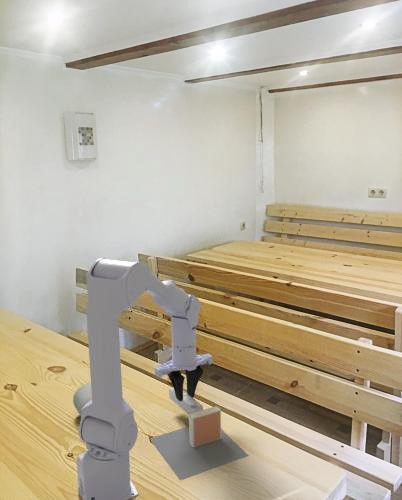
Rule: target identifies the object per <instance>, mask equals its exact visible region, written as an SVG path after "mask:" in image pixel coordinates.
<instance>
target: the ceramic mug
mask: <svg viewBox="0 0 402 500" xmlns="http://www.w3.org/2000/svg"><path fill="white" fill-rule="evenodd" d="M72 399H73V401H72V403H73V406H74V408H75V409H76V411H77V413H78V414H79V416H80V417H81V409H82V408H83V407H84V405H85V404H86V403H88V402H89V401H90V400H92V391H91V382H88V383H83V384H82V385H81V386H80V387H78V388H77V389H76V391H75V392H74V395H73V398H72Z"/></svg>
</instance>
